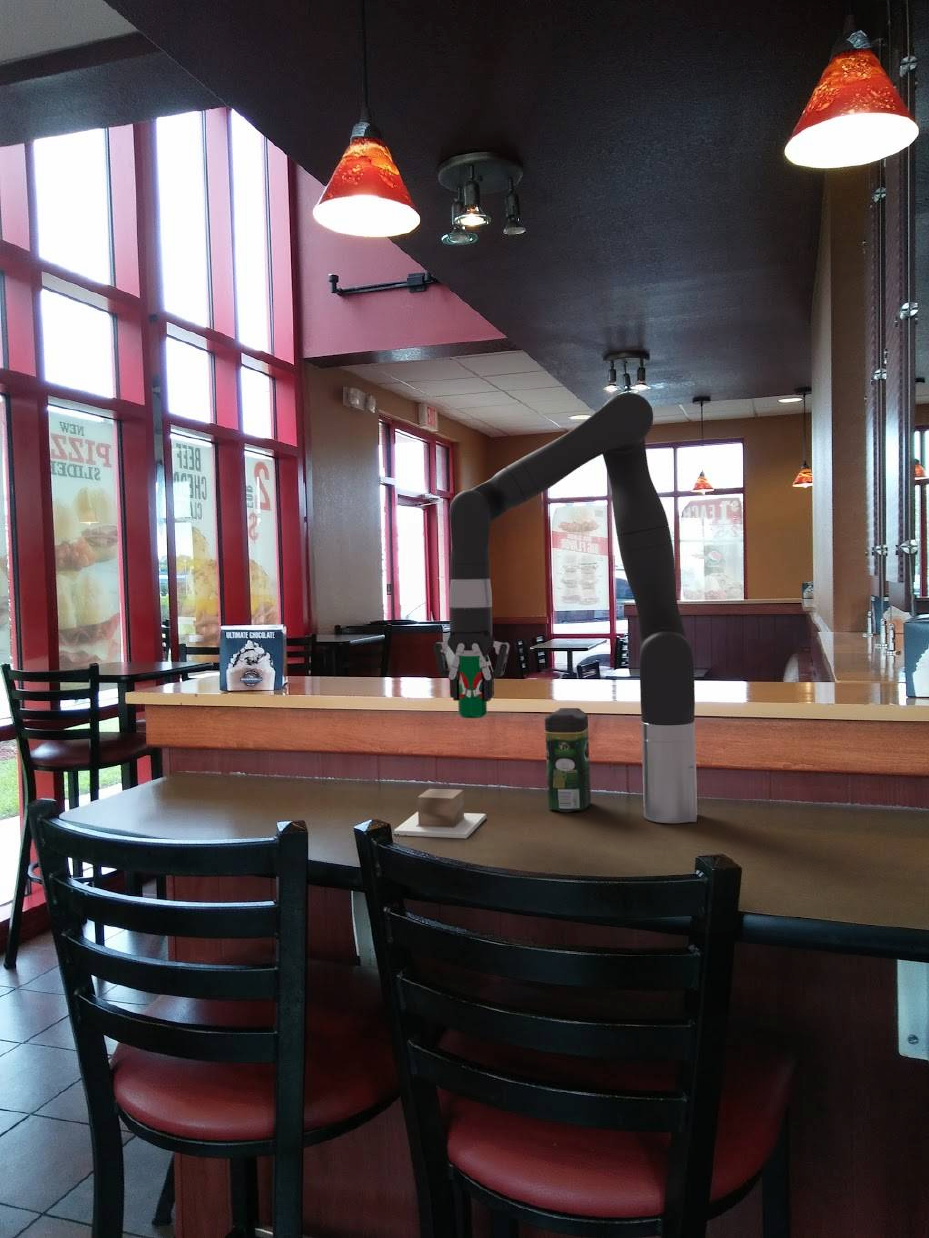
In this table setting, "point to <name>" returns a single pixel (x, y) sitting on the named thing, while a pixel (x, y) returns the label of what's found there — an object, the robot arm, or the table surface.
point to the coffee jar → (567, 760)
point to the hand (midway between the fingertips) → (471, 700)
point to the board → (457, 831)
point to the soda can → (471, 686)
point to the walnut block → (440, 807)
